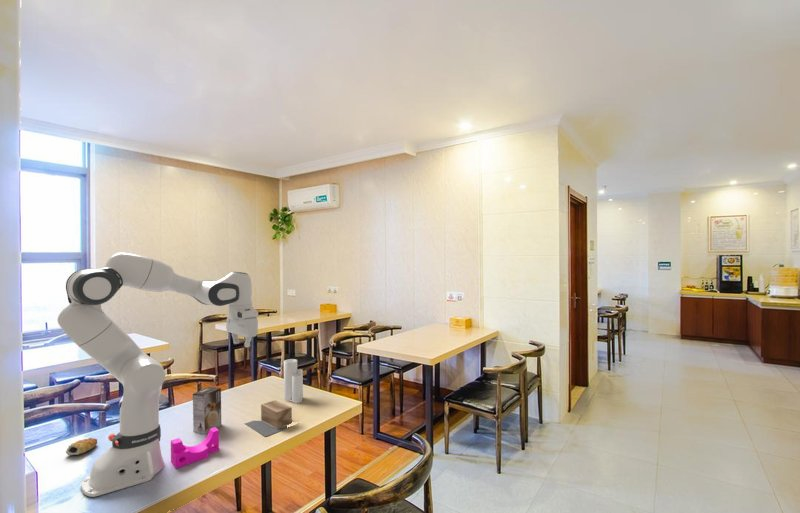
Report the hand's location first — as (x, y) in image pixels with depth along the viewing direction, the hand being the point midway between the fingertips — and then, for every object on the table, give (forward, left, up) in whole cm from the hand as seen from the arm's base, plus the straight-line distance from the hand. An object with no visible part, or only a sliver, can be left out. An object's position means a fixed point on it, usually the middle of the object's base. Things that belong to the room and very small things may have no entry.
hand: (241, 345), depth 157 cm
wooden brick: (+15, -1, -36) cm, 39 cm away
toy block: (-19, -5, -37) cm, 42 cm away
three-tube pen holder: (+34, +15, -36) cm, 52 cm away
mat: (+20, -1, -36) cm, 41 cm away
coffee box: (-7, +16, -36) cm, 40 cm away
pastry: (-43, +31, -37) cm, 64 cm away
